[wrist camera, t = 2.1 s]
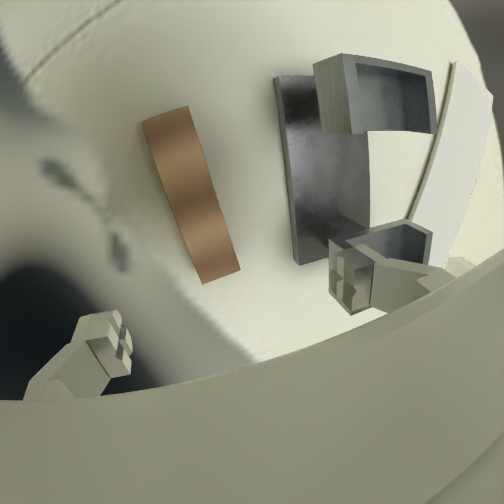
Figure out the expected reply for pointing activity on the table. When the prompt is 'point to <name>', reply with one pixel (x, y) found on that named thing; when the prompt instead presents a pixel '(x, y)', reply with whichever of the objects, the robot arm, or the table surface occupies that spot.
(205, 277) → the rail
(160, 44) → the table surface
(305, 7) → the table surface
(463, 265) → the white cube
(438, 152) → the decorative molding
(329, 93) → the bracket stand
